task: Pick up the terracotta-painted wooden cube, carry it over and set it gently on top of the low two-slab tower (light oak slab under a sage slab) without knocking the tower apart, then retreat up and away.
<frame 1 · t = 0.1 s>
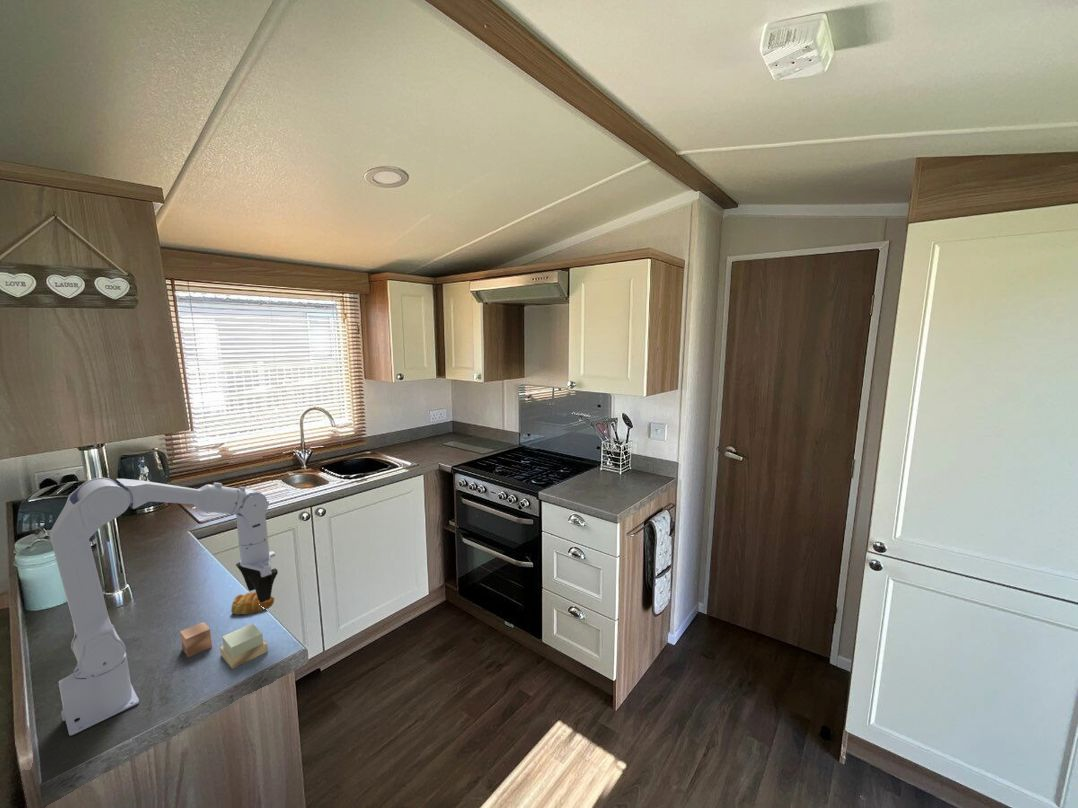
hand: (259, 594, 106), 10 cm above the worktop, tool pointing down, fingers open, 7 cm apart
terracotta cube: (197, 648, 103), on the worktop
pastry: (252, 608, 119), on the worktop
sage slab: (243, 645, 101), point 2 cm above the worktop, touching oak slab
oak slab: (244, 655, 101), on the worktop, touching sage slab
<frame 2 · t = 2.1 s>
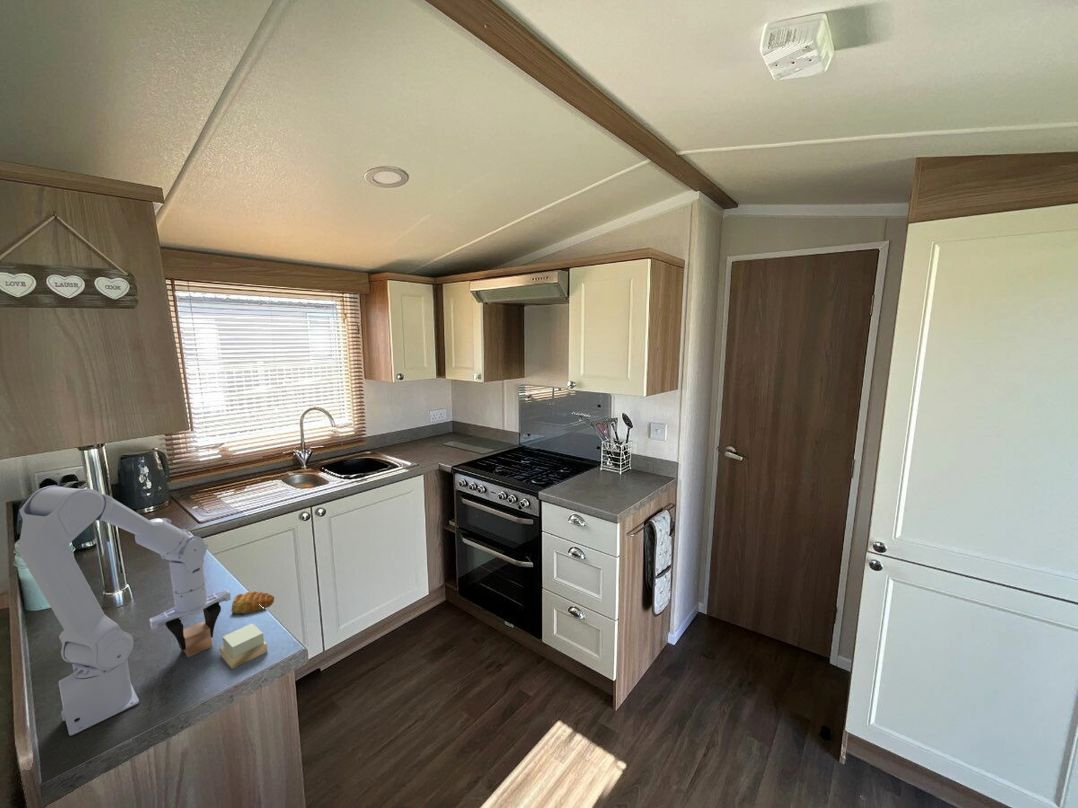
hand: (196, 642, 103), 1 cm above the worktop, tool pointing down, fingers closed on terracotta cube, 4 cm apart
terracotta cube: (197, 647, 103), on the worktop, touching gripper
everything else where it was.
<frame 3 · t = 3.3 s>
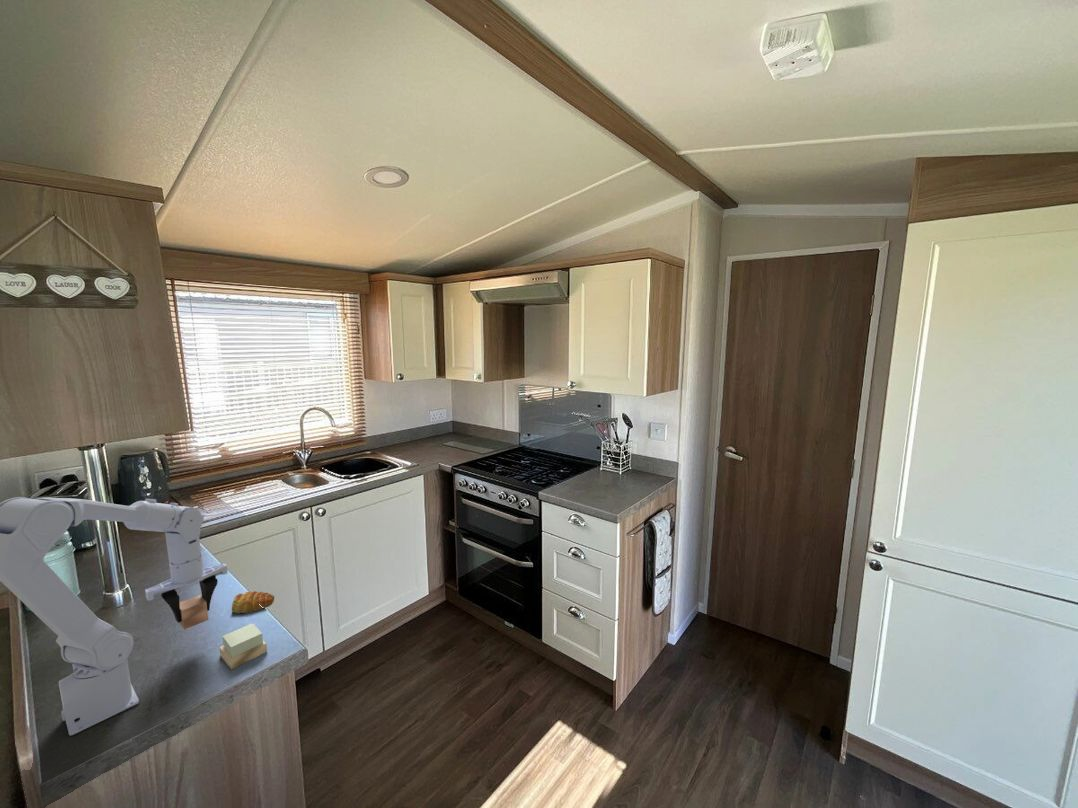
hand: (192, 614, 102), 8 cm above the worktop, tool pointing down, fingers closed on terracotta cube, 4 cm apart
terracotta cube: (193, 621, 102), point 7 cm above the worktop, touching gripper
everything else where it was.
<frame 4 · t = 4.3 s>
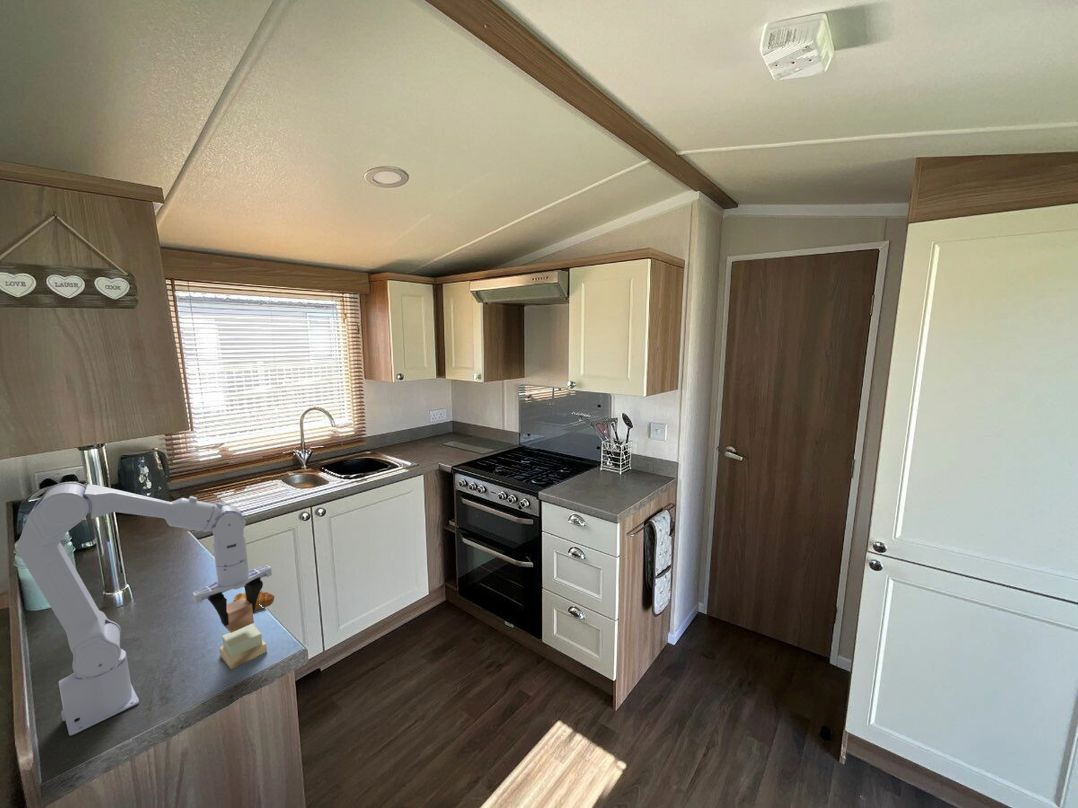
hand: (238, 618, 100), 8 cm above the worktop, tool pointing down, fingers closed on terracotta cube, 4 cm apart
terracotta cube: (238, 624, 100), point 7 cm above the worktop, touching gripper
everything else where it was.
when the fingers open (7 cm above the worktop, at t = 5.2 s): terracotta cube drops 1 cm, resting on sage slab.
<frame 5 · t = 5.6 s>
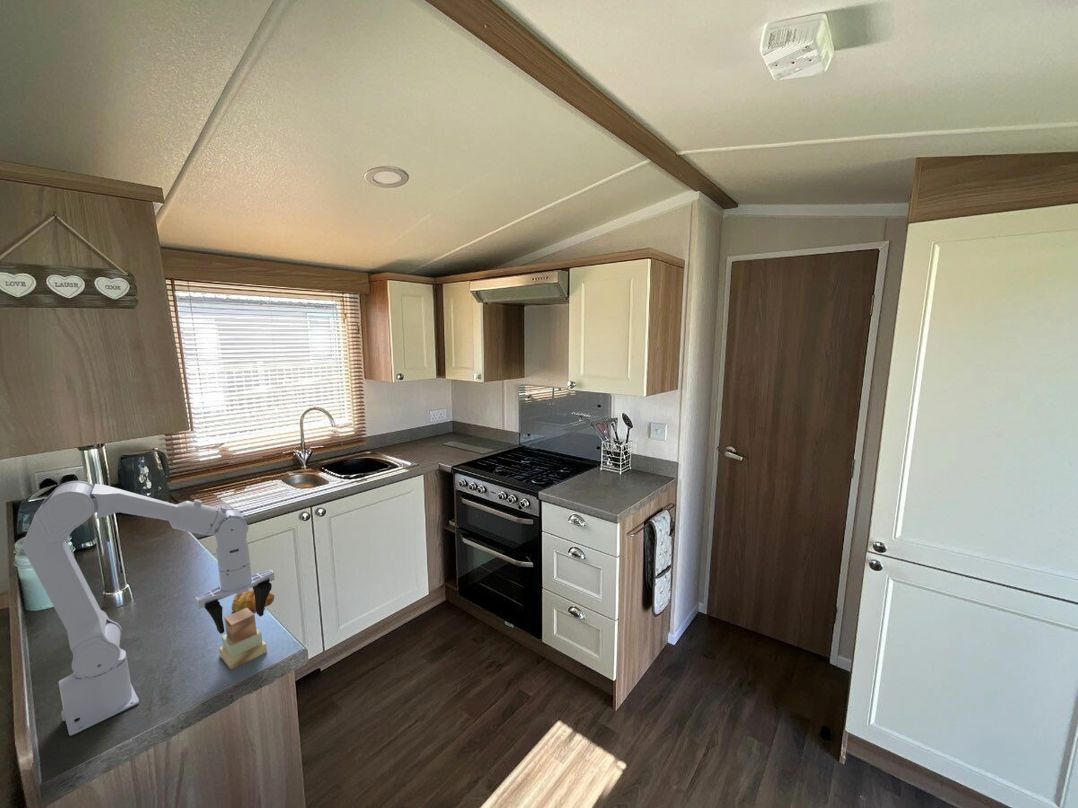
hand: (241, 622, 100), 7 cm above the worktop, tool pointing down, fingers open, 7 cm apart
terracotta cube: (241, 634, 100), point 5 cm above the worktop, touching sage slab
sage slab: (242, 644, 101), point 2 cm above the worktop, touching oak slab, terracotta cube
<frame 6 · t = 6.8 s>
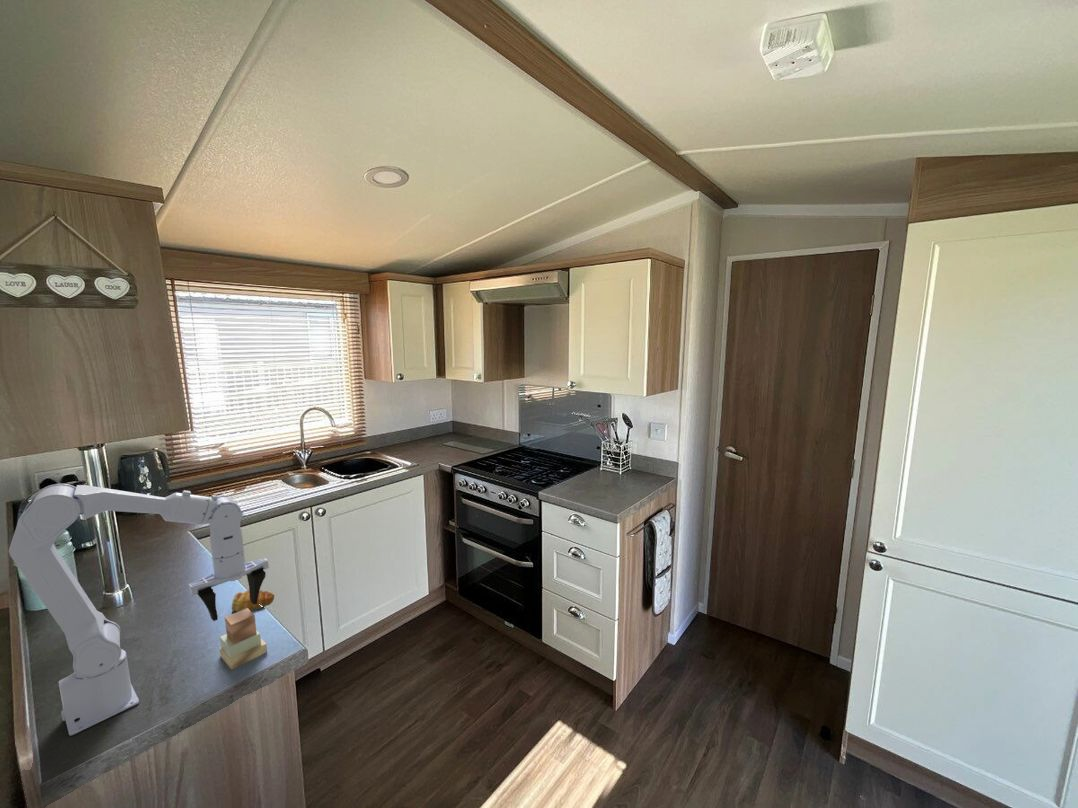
hand: (234, 610, 100), 10 cm above the worktop, tool pointing down, fingers open, 7 cm apart
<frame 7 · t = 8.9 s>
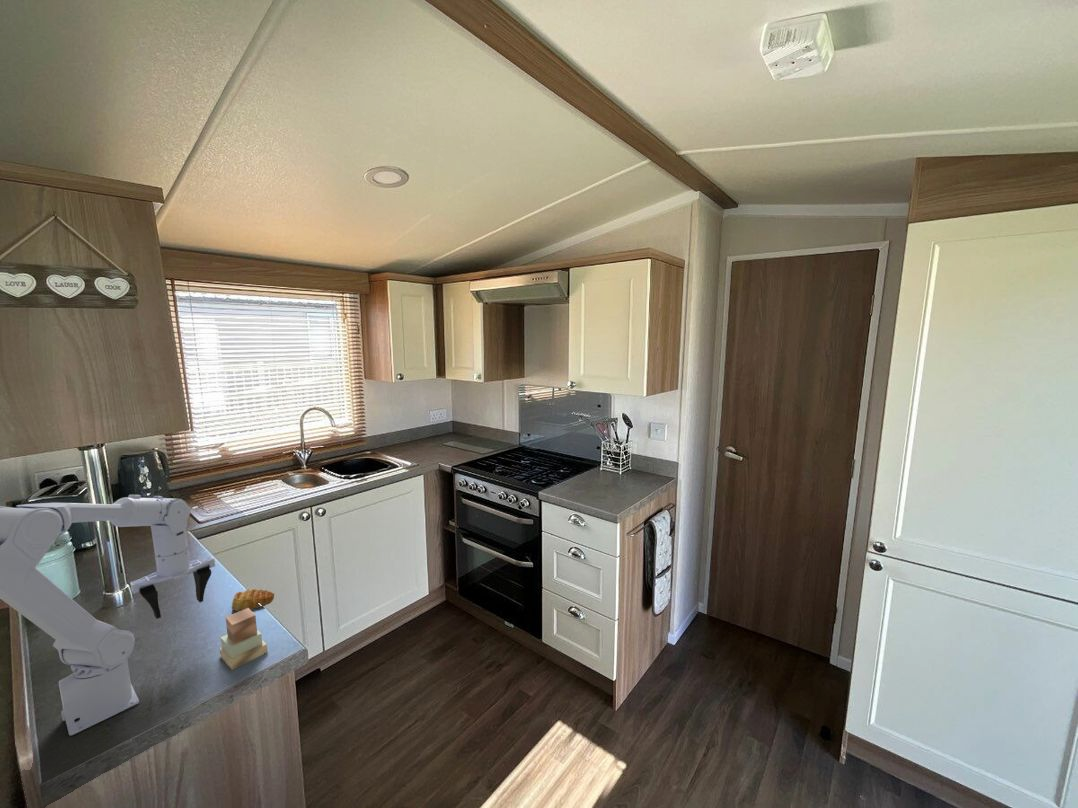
hand: (179, 608, 101), 10 cm above the worktop, tool pointing down, fingers open, 7 cm apart
terracotta cube: (242, 634, 100), point 4 cm above the worktop
sage slab: (242, 645, 100), point 2 cm above the worktop
oak slab: (244, 656, 101), on the worktop
at the end: terracotta cube 0.3 cm off-centre on the sage slab, point 2.5 cm above the sage slab's base; sage slab 0.4 cm off-centre on the oak slab, point 2.5 cm above the oak slab's base; the gripper is holding nothing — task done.
